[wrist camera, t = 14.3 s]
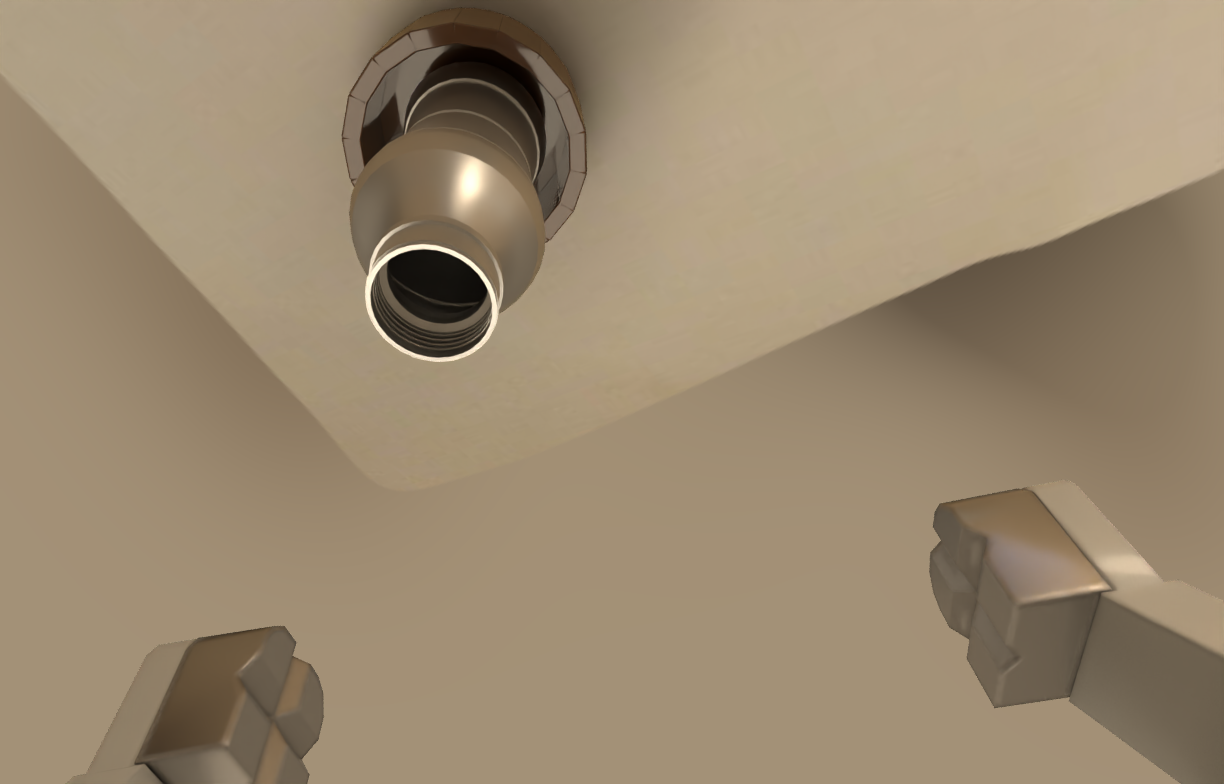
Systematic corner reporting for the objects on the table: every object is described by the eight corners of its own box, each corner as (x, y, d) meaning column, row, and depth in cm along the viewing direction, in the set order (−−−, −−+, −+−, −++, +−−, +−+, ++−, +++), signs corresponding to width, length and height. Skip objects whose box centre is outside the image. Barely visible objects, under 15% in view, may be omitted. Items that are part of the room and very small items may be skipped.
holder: (332, 33, 35) (301, 53, 31) (557, -15, 35) (560, -1, 30) (406, 242, 41) (390, 286, 37) (599, 203, 41) (607, 242, 36)
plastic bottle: (470, 213, 40) (422, 440, 23) (382, 101, 37) (252, 274, 20) (571, 144, 38) (597, 336, 22) (489, 21, 35) (446, 136, 18)
